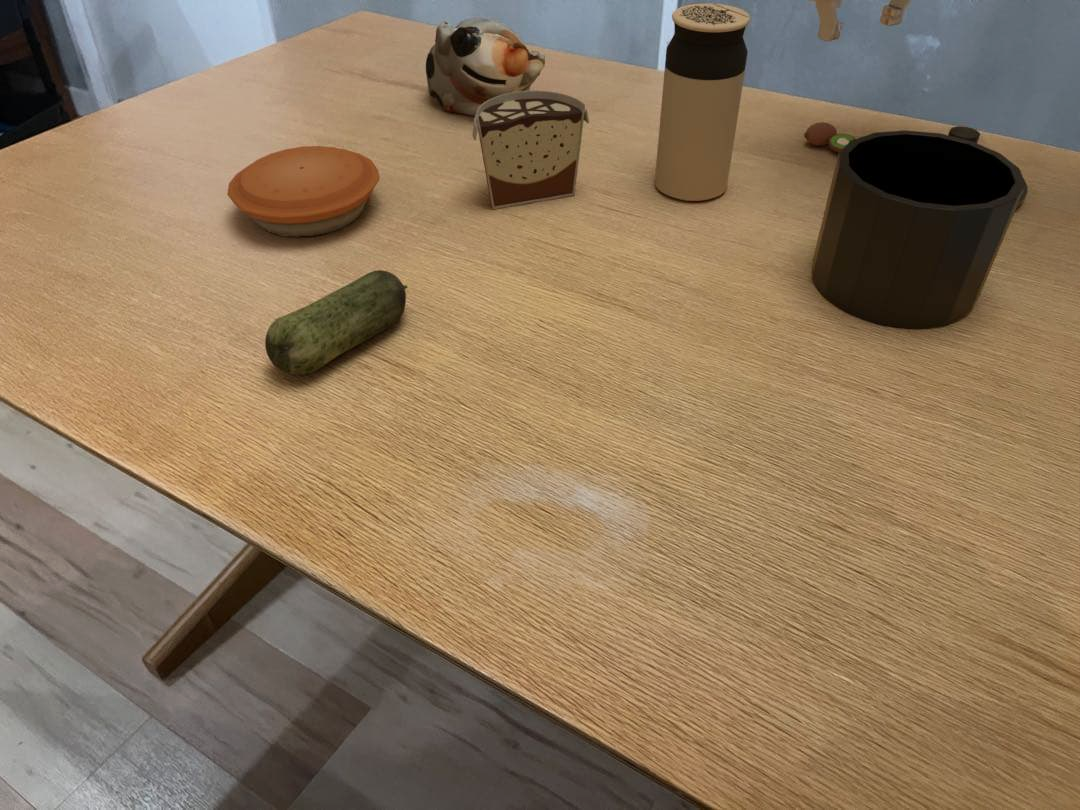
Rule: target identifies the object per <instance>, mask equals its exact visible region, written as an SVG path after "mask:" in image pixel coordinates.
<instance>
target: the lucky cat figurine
mask: <svg viewBox="0 0 1080 810" xmlns="http://www.w3.org/2000/svg"><path fill="white" fill-rule="evenodd" d="M434 41H435V42H434V44H433V45H432V46H431V47H430V49H429V52H428V53H427V55H426V56H427V57H426V58H425V59H426V60H425V74H426V75H425V76H426V82H427V89H428V95H429V96H430V97H431V98H432V99H436V100H437V102H438V103H439V105H440V106H441V108H442V109H443V110H444V112H448V113H449V112H450V113H454V114H460V115H465V116H470V117H471V116H472V117H475V116H476V114H477V110H478V108H479V107H480V106H481V105H482V104H483V103H484V102H486V101H487V100H489V99H492V98H494V97H497V96H499V95H503V94H507V93H512V92H519V91H531V86H532V85H533V84H534V82H535V81H537V79H538V77H539V76H541V72H542V70H543V69H544V68H545V65H546V55H545V54H541V53H540V51H537V50H535V51H530V50H529V49H528V47H527V46H526V45H525V42H524V40H523V38H522V36H520V35H519V34H518V33H517V32H516V31H515V30H514V29H513V28H510V27H508V26H507V24H505V23H503V22H502V21H499V20H497V19H486V18H484V17H483V18H482V17H478V18H477V17H475V18H469V19H464V20H462V21H460V22H459V23H458V24H457V25H456V26H455V27H453V26H451V25H450V24H449V23H448V22H447V21H442V22H441V23H439V26H437V27H436V30H435V39H434Z"/></svg>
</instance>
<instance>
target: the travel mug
mask: <svg viewBox="0 0 1080 810" xmlns="http://www.w3.org/2000/svg"><path fill="white" fill-rule="evenodd" d="M671 20H672V21H673V24H674V34H673V36H672V37H671V39H670V41H669V42H668V44H667V46H666V49H665V61H664V72H663V84H662V93H661V94H662V96H661V104H660V105H661V107H660V118H659V127H658V128H659V129H658V139H657V149H656V162H655V171H654V172H655V173H654V186H655V188H657V190H659V191H660V192H661V193H663V194H664V195H667V196H668V197H671V198H674V199H677V200H680V201H687V202H701V201H707V200H710V199H715V198H717V197H719V196H721V195H722V194H724V193H725V192H726V190H727V188H728V183H729V178H730V177H729V176H730V170H731V163H732V156H733V152H734V151H733V150H734V144H735V138H736V130H737V125H738V119H739V113H740V105H741V100H742V99H741V98H742V92H743V86H744V78H745V73H746V65H747V59H748V54H749V53H748V52H749V51H748V48H747V45H746V41H745V39H744V34H745V31H746V27H747V26H748V25H749V24H750V22H751V16H750V14H749V13H748V12H747V11H745V10H744V9H742V8H739V7H736V6H733V5H728V4H722V3H693V4H687V5H684V6H680V7H678V8H675V10H674V11H673V12H672V14H671Z"/></svg>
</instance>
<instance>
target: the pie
mask: <svg viewBox="0 0 1080 810" xmlns="http://www.w3.org/2000/svg"><path fill="white" fill-rule="evenodd" d="M379 181H380V173H379V169H378V168H377V166H376V165H375V163H374V161H373V160H372V159H370V158H369V157H367V156H365V155H363V154H361V153H359V152H355V151H351V150H349V149H345V148H340V147H334V146H326V145H325V146H323V145H311V146H310V145H309V146H308V145H306V146H297V147H292V148H291V147H290V148H285V149H283V150H282V149H281V150H278V151H275V152H272V153H270V154H269V153H268V154H267V155H264V156H262V157H260V158H258V159H256V160H255V161H253V162H252V163H250V164H249V165H247V166H245V167H244V168H243V169H241V170H240V171H239V172H237V173H236V174H235V175H234V177H232V179H231V180H230V181H229V183H228V187H227V196H228V197H229V199H230V200H231V202H232V203H233V204H234V205H235V207H237V208H238V209H239V210H240V211H242V212H243V213H245V214H246V215H247V216H248V217H249V218H250V219H251V220H252V221H254V222H255V223H256V224H257V225H258V226H259V225H260V226H259V227H261V228H262V227H263V228H262V229H264V230H265V229H266V230H265V231H267V232H268V231H270V232H269V233H271V232H273V233H272V234H274V233H276V234H275V235H277V234H279V235H278V236H280V235H285V236H284V237H288V236H293V237H292V238H300V237H299V236H311V237H314V236H313V235H316V236H320V235H319V234H322V235H326V234H325V233H327V234H329V233H333V232H335V231H338V230H341V229H343V228H344V227H346V226H348V225H350V224H352V223H354V221H355V220H356V219H357V218H359V216H360V215H361V213H362V212H363V209H364V207H365V205H366V203H367V201H368V199H369V197H370V196H371V194H372V192H373V190H374V189H375V187H376V186H377V184H378V182H379ZM351 222H352V223H351ZM342 227H343V228H342ZM340 228H341V229H340ZM337 229H338V230H337ZM334 230H335V231H334ZM286 235H287V236H286ZM295 236H296V237H295Z"/></svg>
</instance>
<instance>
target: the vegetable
mask: <svg viewBox="0 0 1080 810" xmlns="http://www.w3.org/2000/svg"><path fill="white" fill-rule="evenodd" d="M407 288H408V284H403V283H402V281H401V280H400V278H399V277H398V276H397V275H396V274H395V273H392V272H390V271H386V270H373V271H370V272H367V273H366V274H364V275H362V276H360V277H359V278H357V279H355V280H354V281H352V282H350V283H348V284H346V285H344V286H342V287H340V288H338V289H336V290H333V291H332V292H331V293H329V294H326V295H325V296H322V297H320V298H319V299H317V300H315V301H313V302H312V303H309V304H307V305H305V306H304V307H301V308H299V309H297V310H295V311H291V312H289V313H287V314H284V315H282V316H279V317H277V318H275V319H274V321H273V322H272V323H271V324H270V325H269V327H268V328H267V331H266V334H265V338H264V340H265V343H264V344H265V345H264V346H265V351H266V355H267V358H268V359H269V361H270V362H271V363H272V365H273V366H274V367H275V368H276V369H278V370H279V371H281V372H283V373H286V374H289V375H309V374H311V373H314V372H316V371H317V370H319V369H321V368H322V367H324V366H325V365H327V364H328V363H329V362H331V361H332V360H334V359H335V358H337V357H338V356H340V355H342V354H344V353H346V352H347V351H349V350H351V349H353V348H354V347H356V346H358V345H360V344H361V343H363V342H365V341H367V340H368V339H370V338H372V337H375V336H376V335H377V334H379V333H381V332H382V331H384V330H386V329H387V328H390V327H391V326H392V325H395V324H396V323H397V322H398V321H400V319H401V318H402V317H403V316H404V313H405V310H406V309H405V308H406V304H407V300H406V299H407V292H406V289H407Z"/></svg>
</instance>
